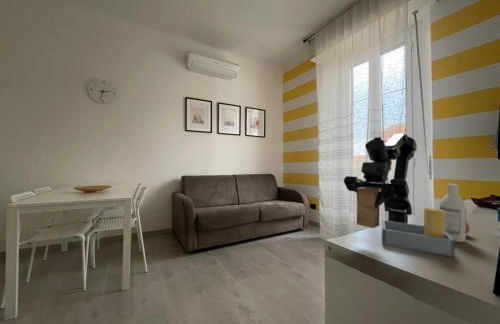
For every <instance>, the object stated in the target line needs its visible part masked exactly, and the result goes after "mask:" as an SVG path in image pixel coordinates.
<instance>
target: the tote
mask: <svg viewBox="0 0 500 324" xmlns="http://www.w3.org/2000/svg"><path fill="white" fill-rule="evenodd" d="M381 240H382V241H381V242H382V245H383V246H384V245H385V246H391V247H395V248H399V249H400V248H401V249H405V250H406V249H407V250H412V251H415V252H422V253H426V254H431V255H438V256H443V257H448V258H453V259H455V255H456V254H455V253H456V251H455V250H456V247H455V246H456V242H455V240H454V239H453V238H452V237H451V236H450V235H449V234H448V233H447V232H446V231H445V238H439V237H433V236H426V235H424V225H421V224H414V223H408V224H407V223H400V222H393V221H388V220H383V219H381Z"/></svg>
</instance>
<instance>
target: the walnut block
mask: <svg viewBox="0 0 500 324" xmlns="http://www.w3.org/2000/svg"><path fill="white" fill-rule="evenodd" d="M380 190H381V189H379V188H368V187H361V188H357V193H356V225H357V226H362V227H366V228H370V229H374V228H377V227H379V226H380V206H381V205H380V206H378V207H377V208H376V207H375V203H376V200H377V197H378V195H379V193H380Z"/></svg>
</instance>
